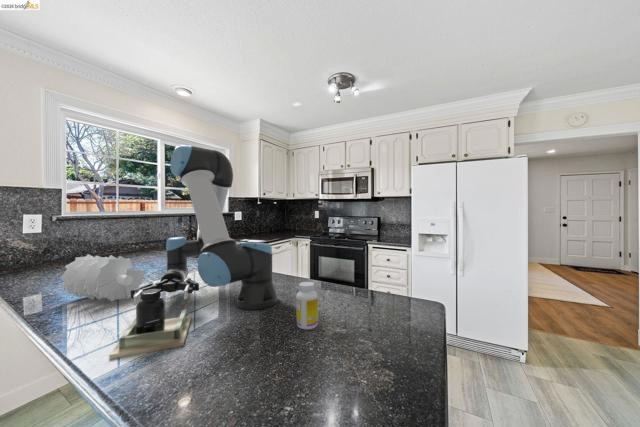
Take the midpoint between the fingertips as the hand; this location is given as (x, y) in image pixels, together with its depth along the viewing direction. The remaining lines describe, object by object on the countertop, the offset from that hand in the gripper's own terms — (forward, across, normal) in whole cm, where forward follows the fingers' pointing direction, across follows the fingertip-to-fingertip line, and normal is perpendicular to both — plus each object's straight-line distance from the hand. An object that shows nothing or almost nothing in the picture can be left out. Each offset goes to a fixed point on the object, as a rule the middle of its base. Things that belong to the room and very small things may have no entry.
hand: (161, 297), depth 80 cm
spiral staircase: (-38, +28, -9) cm, 48 cm away
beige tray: (+7, 0, -9) cm, 11 cm away
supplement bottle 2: (+18, -42, -9) cm, 47 cm away
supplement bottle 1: (+7, +1, -8) cm, 11 cm away
